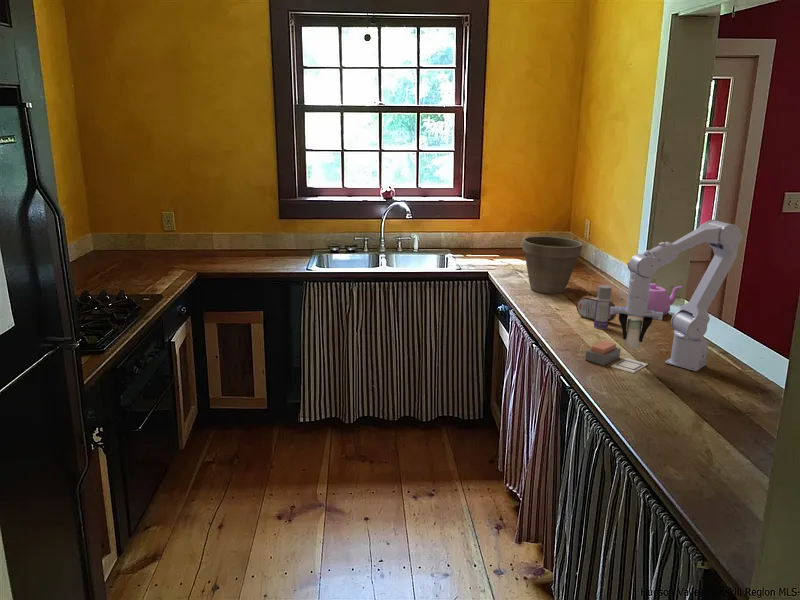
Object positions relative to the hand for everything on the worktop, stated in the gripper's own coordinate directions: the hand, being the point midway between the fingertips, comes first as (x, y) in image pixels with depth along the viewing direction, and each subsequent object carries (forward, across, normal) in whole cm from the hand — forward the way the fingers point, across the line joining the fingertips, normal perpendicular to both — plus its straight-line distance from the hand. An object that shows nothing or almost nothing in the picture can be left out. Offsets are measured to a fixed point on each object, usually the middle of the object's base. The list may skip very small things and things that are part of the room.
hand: (632, 339), depth 192 cm
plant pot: (+8, +36, -82) cm, 90 cm away
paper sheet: (+8, 0, 0) cm, 8 cm away
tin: (+9, +14, -45) cm, 48 cm away
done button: (+6, +8, -3) cm, 10 cm away
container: (+8, +11, -36) cm, 39 cm away
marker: (+2, 0, 0) cm, 2 cm away
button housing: (+8, +8, -3) cm, 12 cm away
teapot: (+9, -6, -64) cm, 65 cm away
